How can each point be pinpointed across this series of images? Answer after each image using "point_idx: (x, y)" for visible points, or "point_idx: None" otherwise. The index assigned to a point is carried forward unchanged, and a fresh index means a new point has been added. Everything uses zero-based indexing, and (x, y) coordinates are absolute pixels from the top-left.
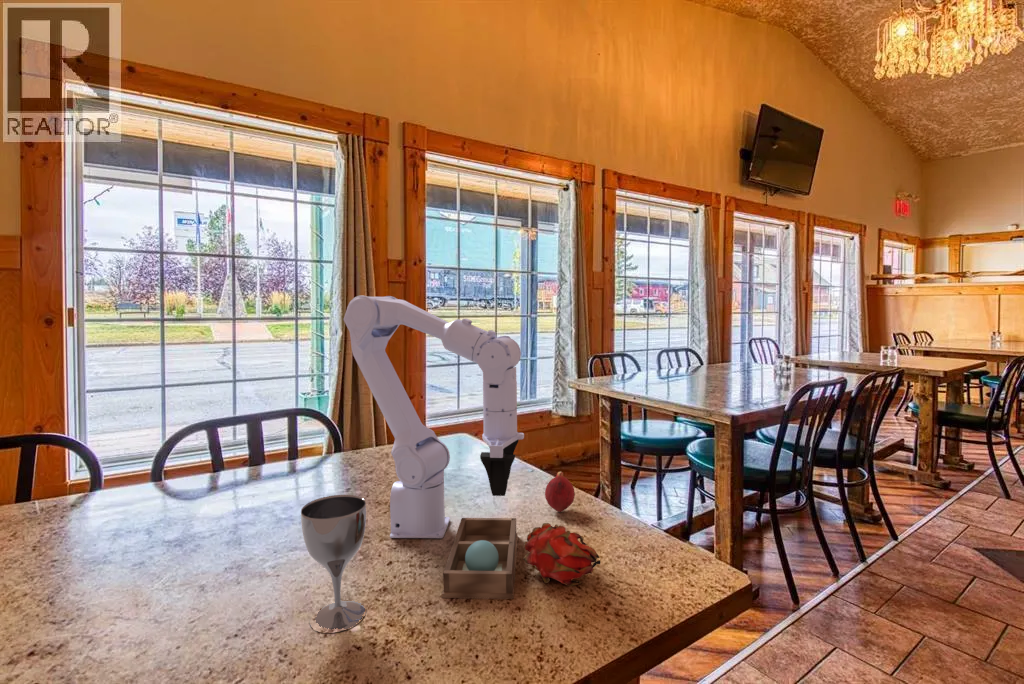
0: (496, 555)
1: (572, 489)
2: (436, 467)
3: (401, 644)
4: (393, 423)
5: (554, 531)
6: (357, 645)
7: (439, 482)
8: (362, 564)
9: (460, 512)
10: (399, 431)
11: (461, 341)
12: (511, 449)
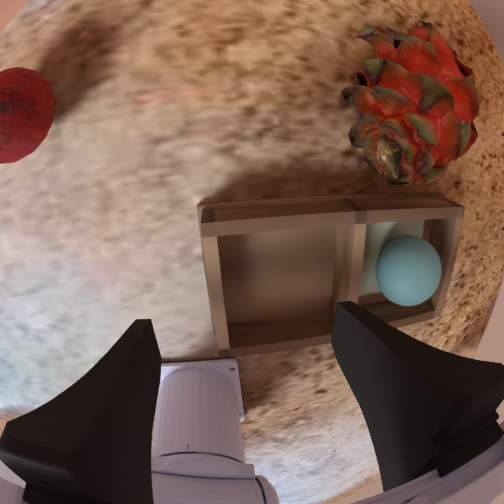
0: (428, 245)
1: (10, 70)
2: (214, 495)
3: (474, 305)
4: None
5: (455, 113)
6: (462, 340)
7: (215, 459)
8: (321, 412)
9: (103, 350)
10: None
11: None
12: (106, 433)
